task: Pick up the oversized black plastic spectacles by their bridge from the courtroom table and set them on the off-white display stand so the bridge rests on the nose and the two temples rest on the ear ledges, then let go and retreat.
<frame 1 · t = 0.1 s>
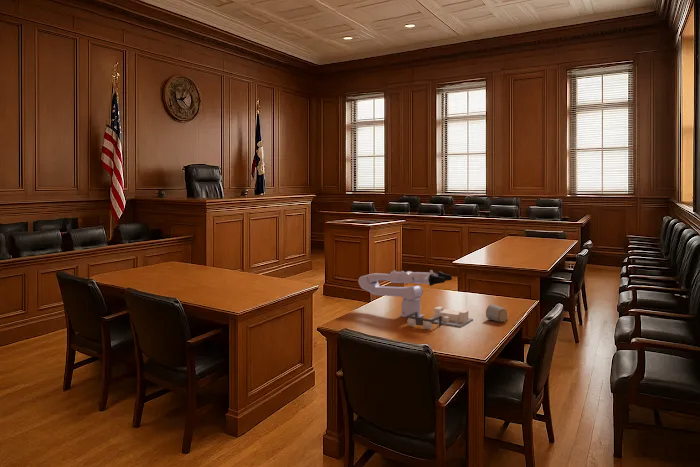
hand: (448, 278, 248), 22 cm above the table, tool horizontal, fingers open, 7 cm apart
glasses: (419, 327, 242), on the table
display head: (446, 322, 250), on the table
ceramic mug: (497, 320, 253), on the table
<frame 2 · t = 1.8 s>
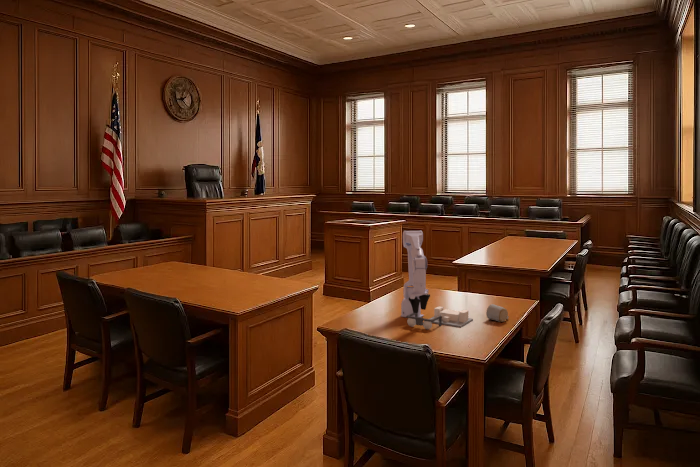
hand: (419, 311, 241), 8 cm above the table, tool pointing down, fingers open, 7 cm apart
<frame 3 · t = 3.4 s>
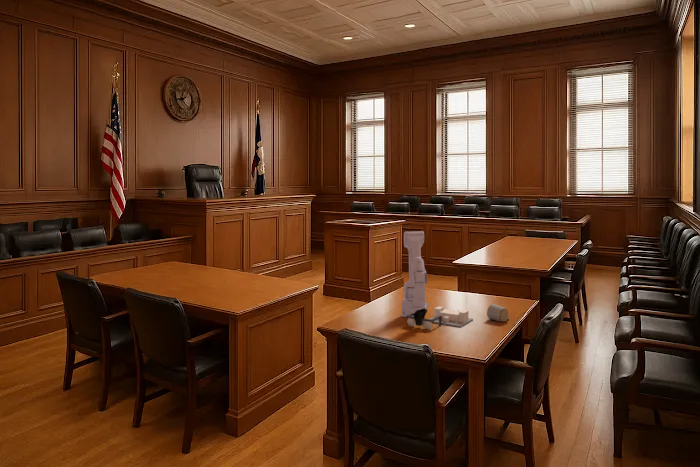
hand: (419, 324, 242), 1 cm above the table, tool pointing down, fingers closed on glasses
glasses: (419, 327, 242), on the table, touching gripper
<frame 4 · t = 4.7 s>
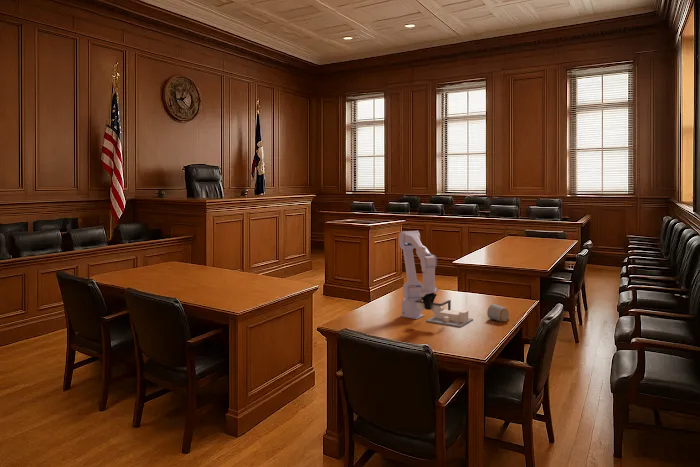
hand: (428, 308, 243), 8 cm above the table, tool pointing down, fingers closed on glasses
glasses: (428, 312, 244), point 7 cm above the table, touching gripper
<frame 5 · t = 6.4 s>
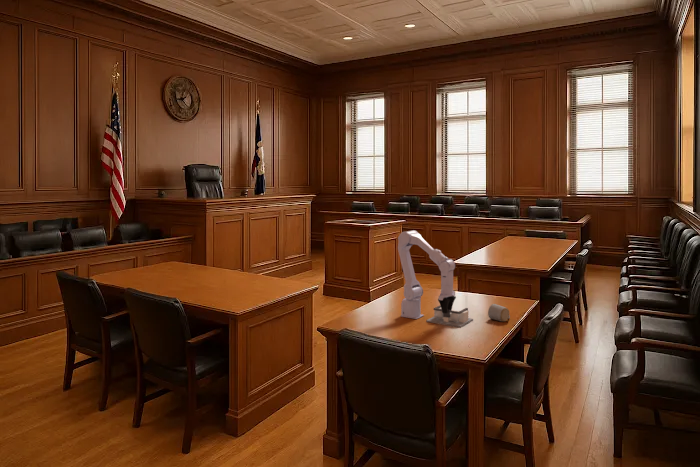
hand: (446, 311, 249), 5 cm above the table, tool pointing down, fingers open, 4 cm apart
glasses: (446, 319, 250), point 1 cm above the table, touching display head
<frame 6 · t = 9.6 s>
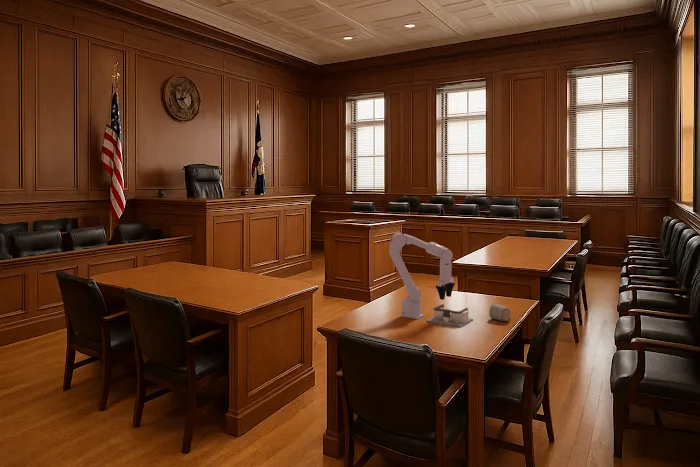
hand: (445, 297, 261), 9 cm above the table, tool pointing down, fingers open, 7 cm apart
at the end: glasses 0.1 cm off-centre on the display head, point 1.5 cm above the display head's base; glasses tilted 0°; the gripper is holding nothing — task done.
